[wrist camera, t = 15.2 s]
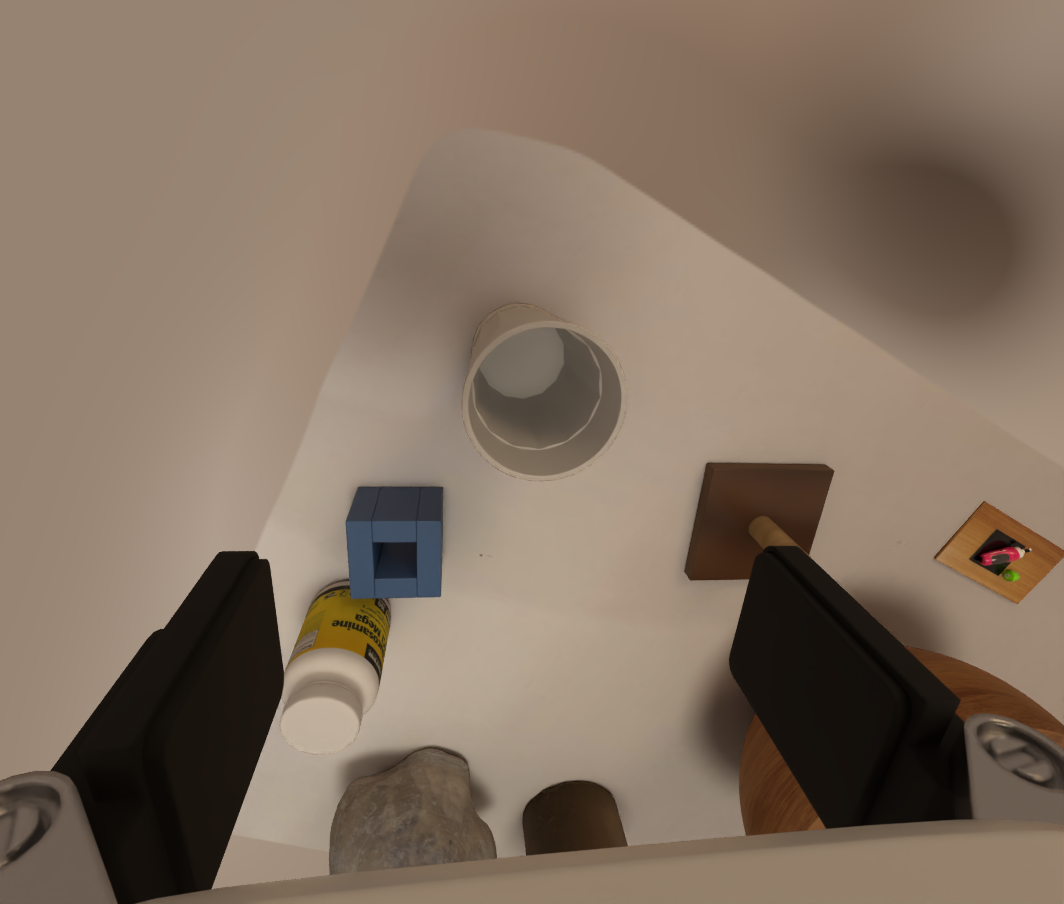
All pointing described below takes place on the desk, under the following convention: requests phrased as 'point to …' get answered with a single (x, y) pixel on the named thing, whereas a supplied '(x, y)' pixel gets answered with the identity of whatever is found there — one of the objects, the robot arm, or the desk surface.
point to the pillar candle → (572, 820)
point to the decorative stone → (409, 818)
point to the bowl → (778, 796)
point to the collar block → (395, 542)
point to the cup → (541, 394)
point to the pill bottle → (334, 670)
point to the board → (1000, 553)
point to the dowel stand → (754, 515)
